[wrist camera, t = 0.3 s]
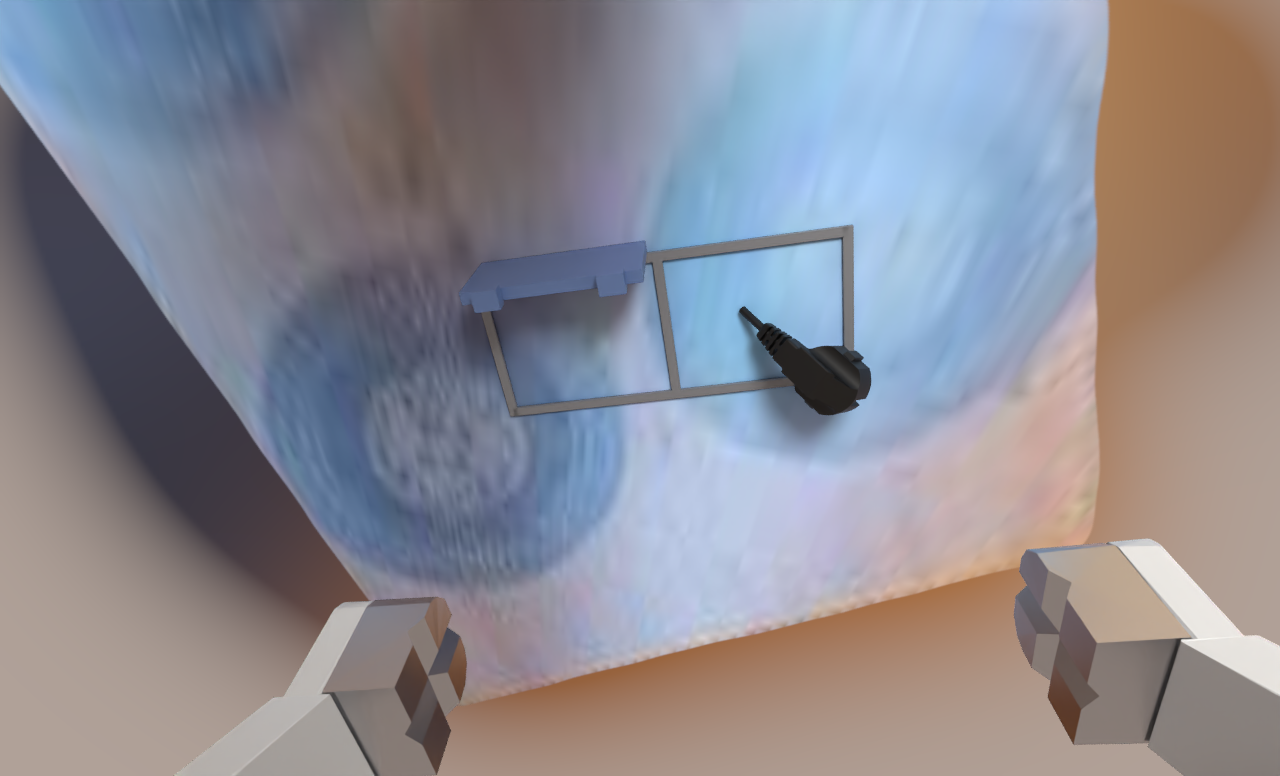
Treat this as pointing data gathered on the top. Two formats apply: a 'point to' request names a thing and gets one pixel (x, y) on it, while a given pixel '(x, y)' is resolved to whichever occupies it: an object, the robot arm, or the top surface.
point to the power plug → (816, 369)
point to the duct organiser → (611, 277)
